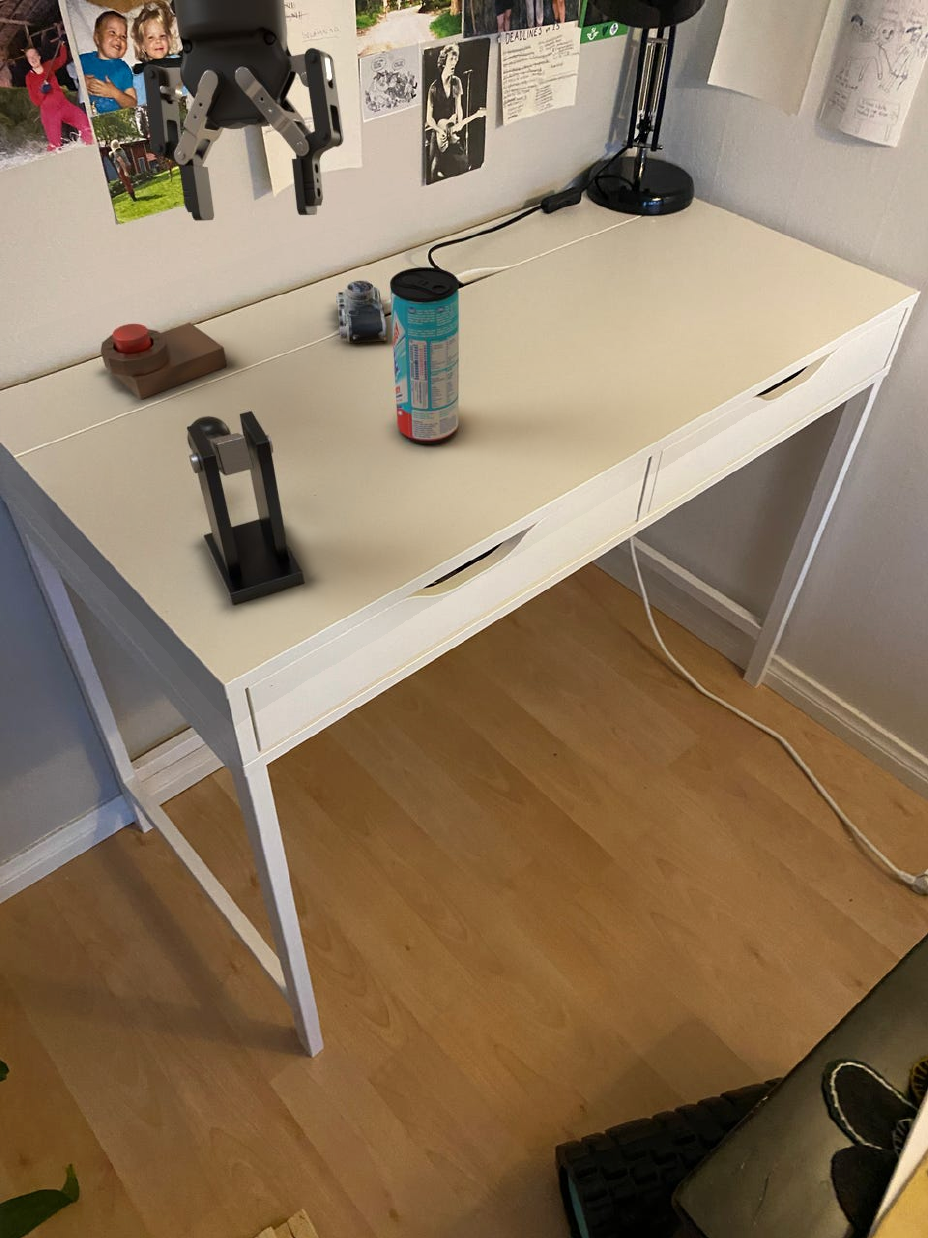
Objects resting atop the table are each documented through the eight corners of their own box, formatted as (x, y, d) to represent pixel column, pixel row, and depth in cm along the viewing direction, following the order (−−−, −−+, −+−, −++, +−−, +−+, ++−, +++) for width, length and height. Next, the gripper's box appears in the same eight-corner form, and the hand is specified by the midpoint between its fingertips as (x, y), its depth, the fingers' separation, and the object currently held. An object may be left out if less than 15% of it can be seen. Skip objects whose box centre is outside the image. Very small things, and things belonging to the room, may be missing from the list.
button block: (130, 403, 96) (120, 368, 93) (99, 375, 99) (88, 340, 97) (227, 366, 101) (220, 331, 98) (194, 340, 105) (186, 306, 102)
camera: (341, 348, 103) (337, 312, 100) (337, 304, 111) (333, 269, 108) (387, 345, 104) (385, 309, 101) (381, 301, 111) (378, 266, 108)
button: (126, 359, 95) (122, 343, 93) (111, 346, 97) (106, 330, 95) (157, 348, 96) (153, 332, 95) (141, 335, 98) (137, 319, 97)
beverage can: (429, 405, 96) (426, 260, 85) (471, 430, 93) (472, 282, 82) (385, 429, 93) (375, 281, 82) (426, 455, 90) (421, 305, 79)
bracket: (205, 545, 80) (173, 415, 71) (274, 525, 82) (251, 396, 73) (232, 605, 75) (201, 473, 66) (304, 582, 77) (284, 451, 68)
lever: (191, 461, 81) (179, 419, 80) (232, 450, 83) (221, 409, 81) (218, 486, 70) (204, 438, 69) (265, 473, 71) (252, 426, 70)
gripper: (102, -40, 64) (144, 222, 70) (298, -66, 60) (325, 212, 66) (161, -15, 71) (195, 222, 77) (341, -38, 67) (361, 212, 73)
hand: (255, 217), depth 72 cm, fingers open, 8 cm apart
